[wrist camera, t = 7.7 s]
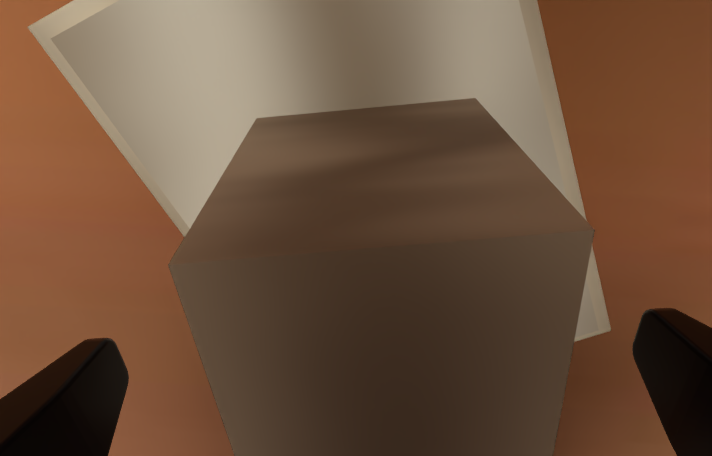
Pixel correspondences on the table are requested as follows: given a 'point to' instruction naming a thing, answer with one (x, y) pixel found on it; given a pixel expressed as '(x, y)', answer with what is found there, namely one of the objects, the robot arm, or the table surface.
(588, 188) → the table surface
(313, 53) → the cream flat block
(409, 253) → the grey-brown block
